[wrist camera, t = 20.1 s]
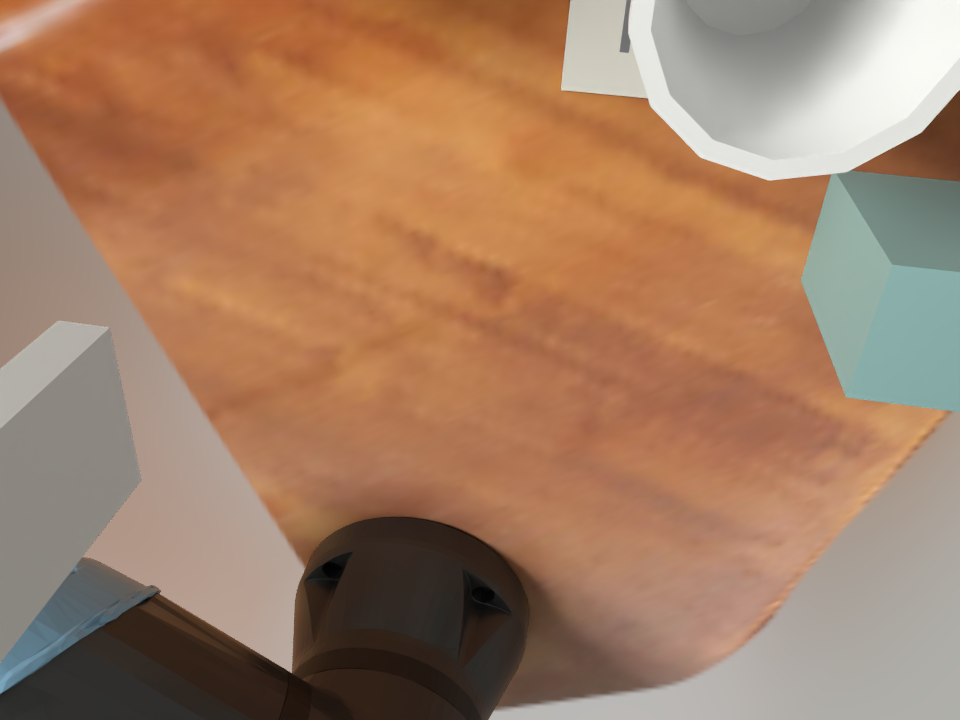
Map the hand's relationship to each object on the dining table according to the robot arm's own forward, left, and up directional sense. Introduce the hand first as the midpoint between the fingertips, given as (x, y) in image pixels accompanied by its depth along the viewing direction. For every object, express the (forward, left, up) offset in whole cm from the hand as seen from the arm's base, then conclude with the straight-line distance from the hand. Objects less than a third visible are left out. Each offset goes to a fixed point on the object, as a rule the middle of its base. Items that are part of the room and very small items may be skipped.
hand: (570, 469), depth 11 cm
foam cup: (+4, -5, -29) cm, 29 cm away
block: (-7, -13, -29) cm, 32 cm away
